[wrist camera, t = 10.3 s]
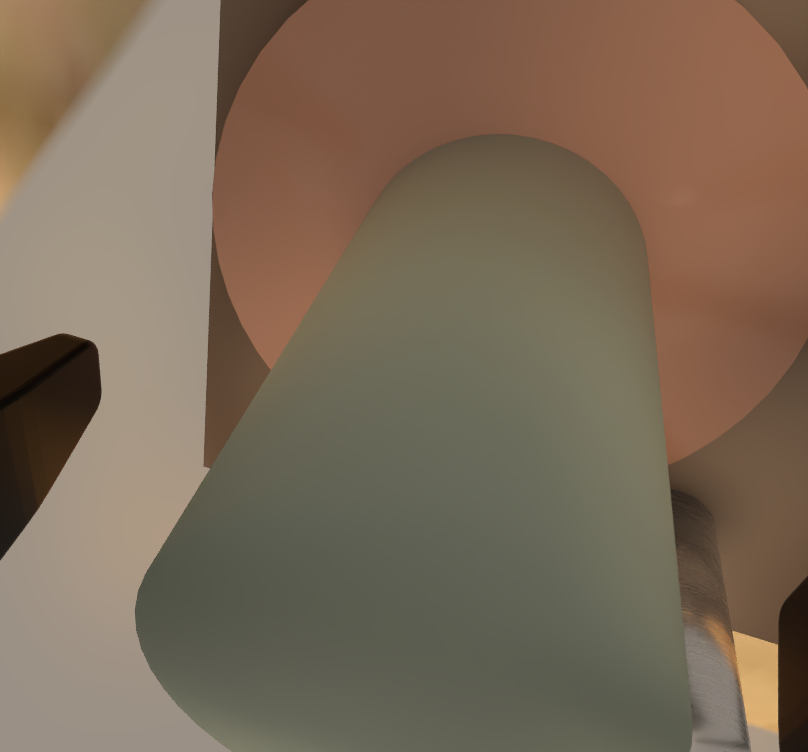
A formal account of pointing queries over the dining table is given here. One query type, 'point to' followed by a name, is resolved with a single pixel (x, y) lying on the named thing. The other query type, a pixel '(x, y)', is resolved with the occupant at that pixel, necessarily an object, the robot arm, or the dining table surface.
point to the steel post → (707, 632)
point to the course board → (590, 139)
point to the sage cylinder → (445, 490)
